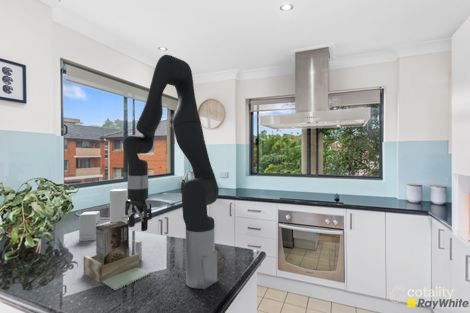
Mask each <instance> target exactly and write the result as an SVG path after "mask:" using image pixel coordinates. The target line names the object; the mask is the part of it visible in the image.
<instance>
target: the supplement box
mask: <svg viewBox="0 0 470 313" xmlns="http://www.w3.org/2000/svg"><path fill="white" fill-rule="evenodd" d="M78 219H79V221H78V227H79V228H78V231H79V232H78V236H79V237H78V241H79V242H87V241H88V242H89V241H96V226H100V225H101V212H100V210H99V211H98V210H96V211H95V210H94V211H93V210H92V211H84V212H83V213H81V214H79V215H78Z"/></svg>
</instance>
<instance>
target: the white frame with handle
mask: <svg viewBox="0 0 470 313" xmlns="http://www.w3.org/2000/svg"><path fill="white" fill-rule="evenodd" d="M134 249H135V250H134V254H137V253H138V254H139V262H140V261H142V260H143V241H142V240H136V241H135V242H134ZM129 256H131V255H130V254H129Z"/></svg>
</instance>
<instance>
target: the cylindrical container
mask: <svg viewBox="0 0 470 313" xmlns="http://www.w3.org/2000/svg"><path fill="white" fill-rule="evenodd" d="M127 193H128V188H115V189H110V190H109V223H114V222H118V221H122V222H125V223H127V224H128V215H125V203H126V200H128V198H127Z"/></svg>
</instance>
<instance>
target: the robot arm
mask: <svg viewBox="0 0 470 313" xmlns="http://www.w3.org/2000/svg"><path fill="white" fill-rule="evenodd" d="M152 74H153V75H152V78H151V82H150V85H149V90H148V94H147V97H146V101H145V104H144V108H142V109H143V110H142V112H141V113H140V116H139V118H138V120H137V123H136V126H135V127H136V130H137V132H139V133H140V134H141V135H138V134H137V135H136V134H128V135H127V136H125V138H124V140H123V141H122V142H123V145H122V148H123V150H124V154H125V157H126V161H127V166H128V167H127V168H128V169H127V170H128V171H127V173H128V176H127V200H126V203H125V215H127V219H128V225H129V228H134V227H135V226H136V217H135V216H136V215H137V216H138V217H139V219H140V220H141V221H140V224H141V225H140V226H141V227H140V229H141V232H146V231H148V225H149V223H148V222H149V221H150V220H152V218H153V217H152V216H153V215H152V203H147V201H146V200H147V199H149V176H148V174H149V172H148V170H149V169H148V167H149V166H148V164H149V163H148V162H147V160H145V159H140V157H139V156H138V155H139V154H142V155H143V154H148V153H150V152H151V150H153V146H154V141H155V134H156V131H157V129H158V127H159V125H160V123H161V121H162V118H163V113H164V112H163V111H164V110H163V101H162V100H163V93H164V91H165V90H166V87H167V86H168V85H170V86H173V87H174V88H175V90H176V94H177V107H176V110H175V112H174V116H173V120H172V126H173V132H174V135H175V140H176V143H177V145H178V147H179V148H180V151H181V152H182V153H183V155H184V156H185V158H186V159H187V160H188V162H189V163H190V165H191V169H192V172H193V176H194V178H190V179H188V180H187V181H185V183H184V185H183V187H182V191H181V204H182V205H181V206H182V209H181V210H182V219H183V221H184V222H183V223H184V224H185V284H186V285H187V287H189V288H193V289H200V290H201V289H202V290H206V289H207V288H209V287H210V286H212V285H214V284H216V283H217V282H218V252H217V251H216V249H215V248H216V246H215V242H216V241H215V239H216V238H215V236H216V235H215V234H216V233H215V231H216V230H215V228H216V225H215V219H214V217H212V216H209V215H208V208H207V207H208V206H209V205H213V204H214V203H215V202H216V201H217V200H218V198H219V192H220V191H219V190H220V189H219V186H218V182H217V178H216V176H215V173H214V169H213V168H212V167H213V166H212V164H211V161H210V157H209V153H208V152H209V151H208V149H207V144H206V141H205V136H204V132H203V131H204V130H203V126H202V123H201V122H202V121H201V119H200V114H199V110H198V106H197V105H198V104H197V100H196V94H195V87H194V79H193V72H192V68H191V66H190V64H189V63H188V62H186V61H185V60H183V59H181V58H179V57H176V56H173V55H171V54H164V55H162V56H161V57H159V59H158V60H157V63H156V65H155V67H154V69H153V73H152Z"/></svg>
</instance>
